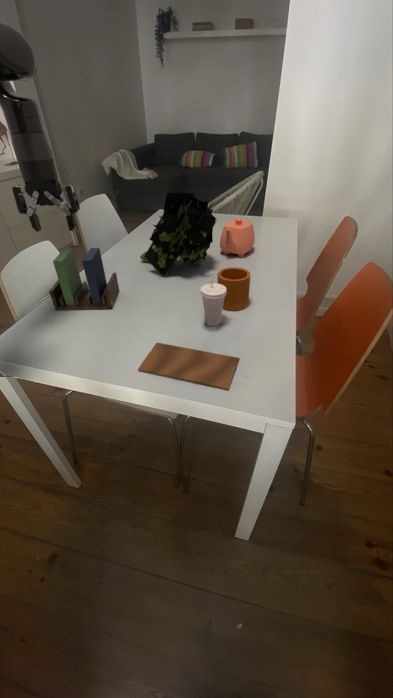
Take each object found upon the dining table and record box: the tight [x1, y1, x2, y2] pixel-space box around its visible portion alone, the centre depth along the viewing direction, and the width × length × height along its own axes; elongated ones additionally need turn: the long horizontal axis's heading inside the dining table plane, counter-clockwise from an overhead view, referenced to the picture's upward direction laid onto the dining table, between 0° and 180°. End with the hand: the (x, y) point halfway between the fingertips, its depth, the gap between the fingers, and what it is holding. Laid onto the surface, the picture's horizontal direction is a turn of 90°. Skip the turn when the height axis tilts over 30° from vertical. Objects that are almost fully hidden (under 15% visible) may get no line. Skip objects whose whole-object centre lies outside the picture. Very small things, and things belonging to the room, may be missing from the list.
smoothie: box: [200, 271, 227, 327], centre depth 79 cm, size 6×6×14 cm
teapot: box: [219, 217, 256, 258], centre depth 117 cm, size 20×12×12 cm, turn 152°
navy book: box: [81, 247, 108, 305], centre depth 89 cm, size 2×9×13 cm, turn 1°
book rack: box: [48, 272, 120, 311], centre depth 92 cm, size 16×11×6 cm
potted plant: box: [139, 191, 218, 278], centre depth 104 cm, size 21×22×30 cm
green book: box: [52, 247, 83, 305], centre depth 89 cm, size 2×9×13 cm, turn 0°
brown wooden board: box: [137, 342, 240, 391], centre depth 69 cm, size 20×10×1 cm, turn 72°
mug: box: [217, 266, 251, 312], centre depth 89 cm, size 9×12×9 cm
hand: (55, 230), depth 81 cm, fingers open, 8 cm apart
